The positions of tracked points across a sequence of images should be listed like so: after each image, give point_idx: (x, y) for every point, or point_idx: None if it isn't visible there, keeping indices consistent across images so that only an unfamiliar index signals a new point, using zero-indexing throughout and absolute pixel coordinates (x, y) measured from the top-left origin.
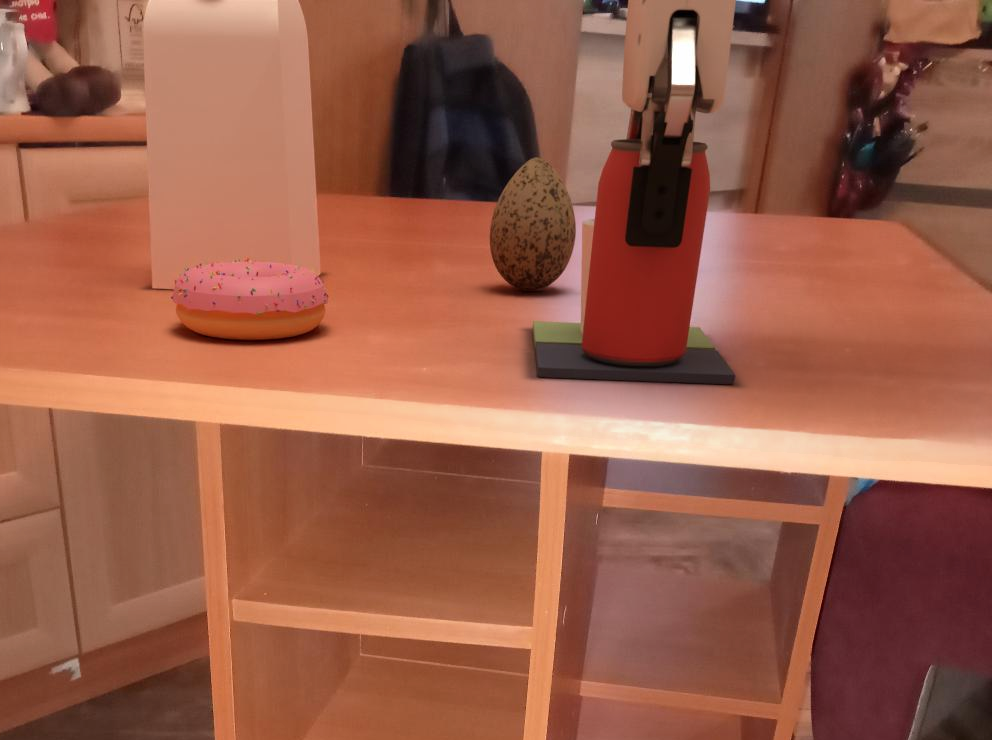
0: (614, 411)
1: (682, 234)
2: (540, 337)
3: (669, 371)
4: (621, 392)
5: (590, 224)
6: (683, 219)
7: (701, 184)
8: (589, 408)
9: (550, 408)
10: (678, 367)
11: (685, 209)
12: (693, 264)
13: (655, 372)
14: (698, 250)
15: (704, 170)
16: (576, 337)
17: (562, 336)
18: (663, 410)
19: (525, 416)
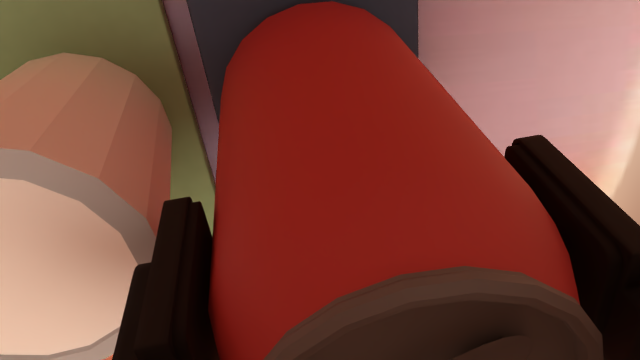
0: (601, 84)
1: (551, 144)
2: None
3: (414, 21)
4: (489, 85)
5: (114, 348)
6: (570, 166)
7: (511, 188)
8: (583, 117)
9: (582, 161)
10: (376, 6)
11: (587, 179)
12: (419, 74)
13: (417, 45)
14: (407, 79)
15: (504, 214)
16: (170, 198)
17: None
18: (598, 15)
19: (618, 180)
